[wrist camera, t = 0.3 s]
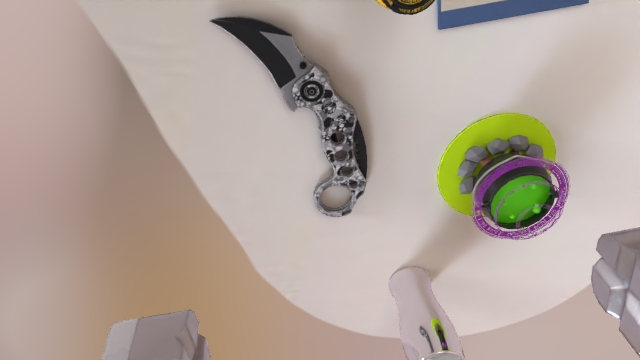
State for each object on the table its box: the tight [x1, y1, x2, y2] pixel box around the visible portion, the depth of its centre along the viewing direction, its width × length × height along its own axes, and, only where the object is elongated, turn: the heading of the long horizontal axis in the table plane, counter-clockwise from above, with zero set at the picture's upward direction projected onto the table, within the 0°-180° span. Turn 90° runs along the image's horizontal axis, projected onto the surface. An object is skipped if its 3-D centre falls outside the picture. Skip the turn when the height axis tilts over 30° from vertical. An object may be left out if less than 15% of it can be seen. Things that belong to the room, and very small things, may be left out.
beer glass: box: [388, 267, 466, 360], centre depth 69 cm, size 7×7×15 cm
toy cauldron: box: [438, 113, 570, 240], centre depth 61 cm, size 15×15×11 cm
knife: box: [209, 17, 367, 217], centre depth 59 cm, size 28×2×10 cm
